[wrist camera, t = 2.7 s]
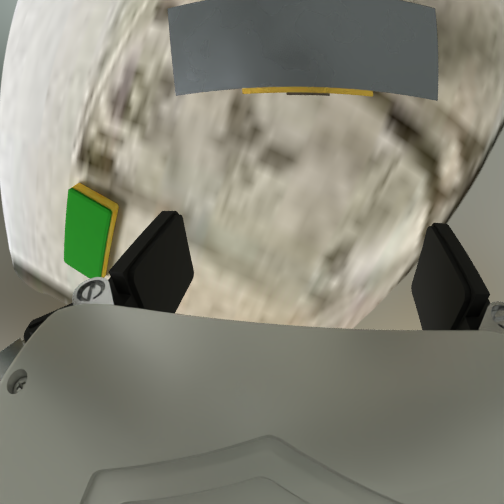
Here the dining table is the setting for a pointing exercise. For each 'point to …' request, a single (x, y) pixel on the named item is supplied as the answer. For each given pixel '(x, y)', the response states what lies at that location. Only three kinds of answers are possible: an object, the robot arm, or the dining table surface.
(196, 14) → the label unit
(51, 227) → the dining table surface
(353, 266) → the dining table surface
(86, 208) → the dish sponge
